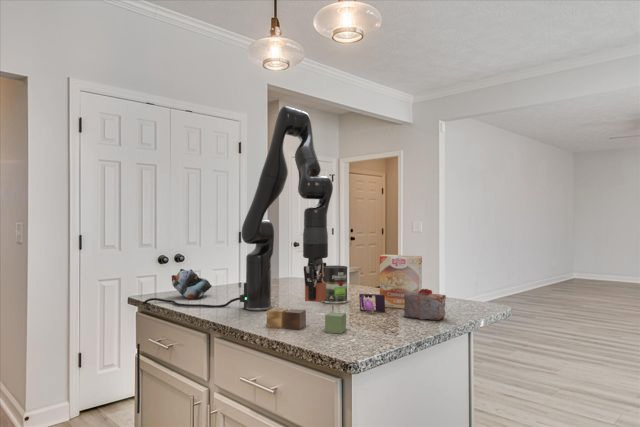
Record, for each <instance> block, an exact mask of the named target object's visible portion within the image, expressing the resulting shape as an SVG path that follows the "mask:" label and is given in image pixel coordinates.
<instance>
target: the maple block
mask: <svg viewBox="0 0 640 427" xmlns="http://www.w3.org/2000/svg"><path fill="white" fill-rule="evenodd" d="M288 310H289V308H285V307H284V308H282V307H271V309H268V310H266V328H275V329H283V328H285V312H286V311H288Z"/></svg>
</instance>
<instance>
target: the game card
mask: <svg viewBox="0 0 640 427" xmlns="http://www.w3.org/2000/svg"><path fill="white" fill-rule="evenodd" d="M373 297H374V303H375V306H374V304H373V301H371V300H370V299H372V298H373ZM358 298H359V311H362V312H371V313H372V314H374V313H375V312H378V313H386V307H385V295H380V293H378V294H377V293H359V295H358ZM368 298H369V299H368ZM364 299H365V300H364Z"/></svg>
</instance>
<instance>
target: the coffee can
mask: <svg viewBox="0 0 640 427" xmlns="http://www.w3.org/2000/svg"><path fill="white" fill-rule="evenodd" d="M324 283H326V300H324V301H322V302H321V303H326V304H331V305H335V304H345V303H348V266H347V265H326V277H325V282H324Z"/></svg>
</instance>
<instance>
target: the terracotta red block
mask: <svg viewBox="0 0 640 427" xmlns="http://www.w3.org/2000/svg"><path fill="white" fill-rule="evenodd" d="M324 300H326V283H316V300H309V299H308V287H307V286H305V285H304V301H305V302H312V303H313V302H315V303H323V302H322V301H324Z"/></svg>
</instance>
